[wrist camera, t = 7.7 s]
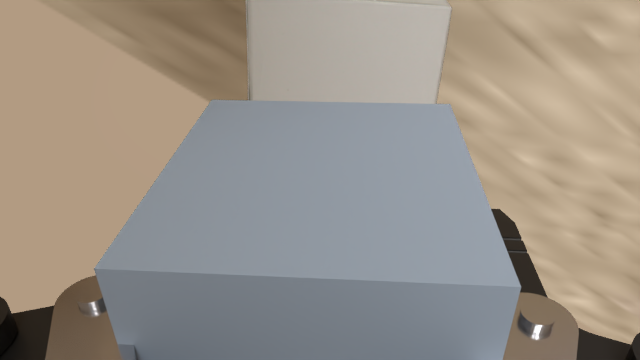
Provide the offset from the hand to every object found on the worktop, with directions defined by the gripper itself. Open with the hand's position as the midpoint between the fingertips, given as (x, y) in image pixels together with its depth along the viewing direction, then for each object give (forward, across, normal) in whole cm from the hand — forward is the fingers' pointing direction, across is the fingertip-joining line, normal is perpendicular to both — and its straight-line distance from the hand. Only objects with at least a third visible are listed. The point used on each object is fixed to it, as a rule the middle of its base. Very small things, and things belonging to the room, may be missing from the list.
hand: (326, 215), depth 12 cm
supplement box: (+20, 0, 0) cm, 20 cm away
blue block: (+1, 0, 0) cm, 1 cm away
